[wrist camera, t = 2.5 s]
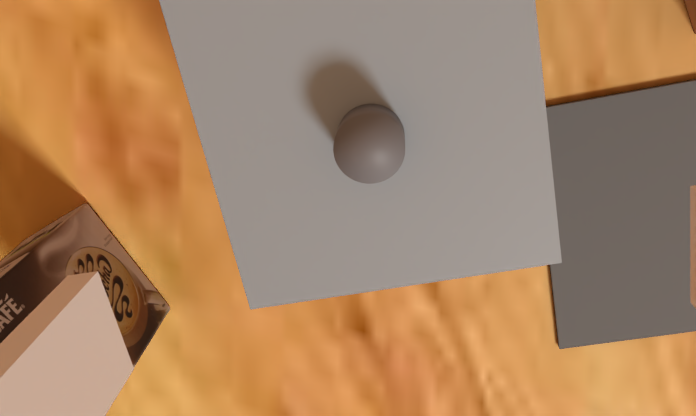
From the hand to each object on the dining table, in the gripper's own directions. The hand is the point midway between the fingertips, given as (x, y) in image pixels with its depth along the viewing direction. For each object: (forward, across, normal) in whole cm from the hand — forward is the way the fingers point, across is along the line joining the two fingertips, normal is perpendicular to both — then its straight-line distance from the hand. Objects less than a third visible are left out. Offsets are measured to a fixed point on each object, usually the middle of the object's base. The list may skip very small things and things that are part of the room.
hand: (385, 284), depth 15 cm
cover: (+24, -1, +1) cm, 25 cm away
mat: (+24, +15, -11) cm, 31 cm away
